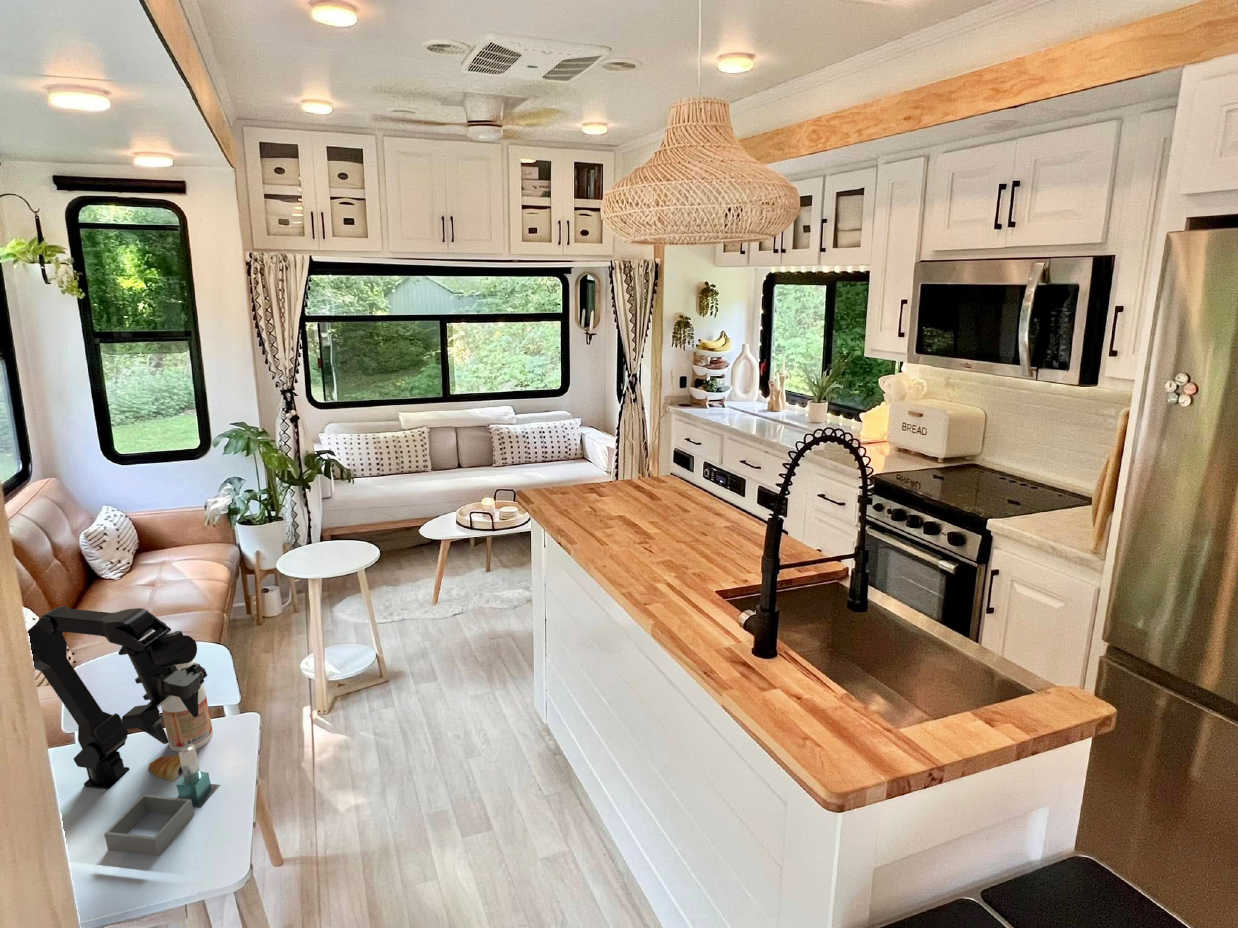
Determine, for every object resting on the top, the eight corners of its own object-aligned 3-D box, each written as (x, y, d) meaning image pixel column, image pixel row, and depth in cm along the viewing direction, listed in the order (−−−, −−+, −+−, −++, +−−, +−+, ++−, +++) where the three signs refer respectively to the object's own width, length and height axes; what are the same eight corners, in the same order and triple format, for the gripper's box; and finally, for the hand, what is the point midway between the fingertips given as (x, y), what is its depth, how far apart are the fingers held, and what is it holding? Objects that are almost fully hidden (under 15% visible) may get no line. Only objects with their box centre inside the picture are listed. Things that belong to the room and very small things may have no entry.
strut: (179, 800, 167) (170, 754, 163) (193, 786, 171) (183, 741, 168) (198, 802, 167) (189, 756, 163) (211, 788, 171) (202, 743, 167)
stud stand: (171, 808, 166) (167, 793, 165) (192, 785, 173) (189, 770, 172) (201, 811, 166) (198, 796, 164) (221, 788, 172) (218, 773, 171)
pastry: (141, 777, 176) (138, 763, 174) (165, 758, 182) (162, 744, 181) (175, 785, 173) (172, 771, 172) (198, 766, 179) (195, 752, 178)
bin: (109, 853, 155) (104, 833, 153) (147, 812, 165) (143, 794, 163) (159, 859, 153) (154, 839, 152) (195, 818, 164) (191, 799, 162)
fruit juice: (161, 753, 183) (138, 651, 174) (186, 728, 192) (166, 629, 183) (198, 756, 182) (178, 653, 173) (221, 731, 191) (203, 632, 182)
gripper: (150, 688, 152) (181, 754, 156) (213, 639, 169) (240, 699, 173) (105, 695, 154) (137, 759, 158) (171, 645, 172) (199, 705, 176)
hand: (181, 729), depth 166 cm, fingers open, 9 cm apart
